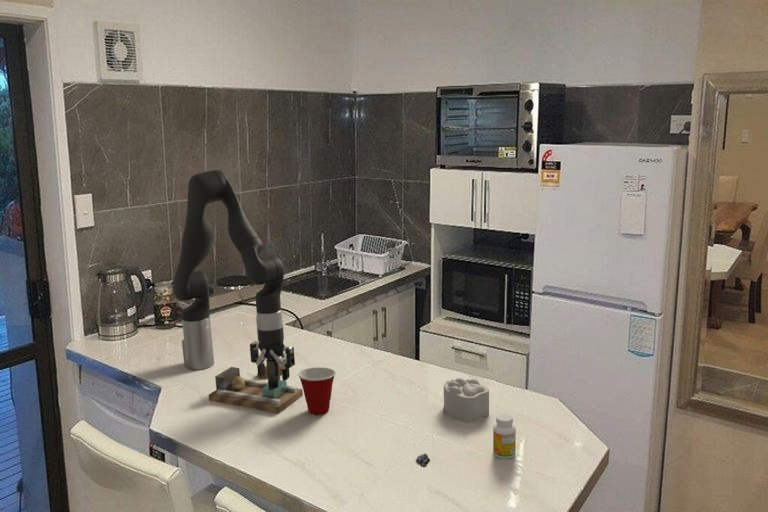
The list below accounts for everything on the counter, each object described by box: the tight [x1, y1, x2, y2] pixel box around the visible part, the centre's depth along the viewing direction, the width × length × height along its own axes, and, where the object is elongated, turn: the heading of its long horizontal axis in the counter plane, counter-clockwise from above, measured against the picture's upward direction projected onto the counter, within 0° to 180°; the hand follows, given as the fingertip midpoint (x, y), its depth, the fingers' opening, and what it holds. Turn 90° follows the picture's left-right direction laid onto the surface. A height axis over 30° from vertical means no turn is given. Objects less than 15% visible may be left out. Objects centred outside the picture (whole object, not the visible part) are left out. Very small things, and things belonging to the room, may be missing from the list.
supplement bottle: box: [492, 413, 517, 460], centre depth 155 cm, size 5×5×10 cm
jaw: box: [262, 359, 288, 399], centre depth 188 cm, size 4×7×11 cm, turn 156°
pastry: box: [256, 364, 283, 379], centre depth 210 cm, size 9×7×4 cm
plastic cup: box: [297, 366, 337, 416], centre depth 181 cm, size 11×11×12 cm
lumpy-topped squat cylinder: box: [443, 377, 490, 423], centre depth 179 cm, size 10×13×9 cm
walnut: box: [232, 375, 245, 390], centre depth 194 cm, size 4×4×4 cm
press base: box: [208, 366, 304, 414], centre depth 192 cm, size 25×13×7 cm, turn 66°
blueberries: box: [415, 453, 431, 467], centre depth 154 cm, size 7×8×2 cm
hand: (273, 377), depth 188 cm, fingers open, 7 cm apart
